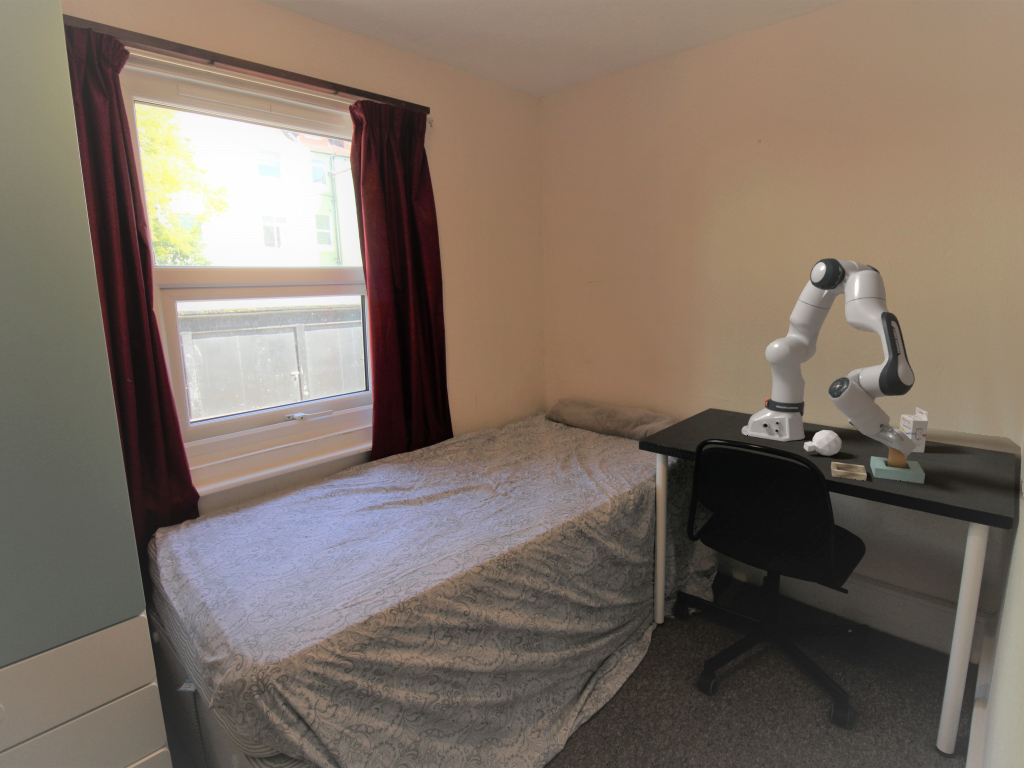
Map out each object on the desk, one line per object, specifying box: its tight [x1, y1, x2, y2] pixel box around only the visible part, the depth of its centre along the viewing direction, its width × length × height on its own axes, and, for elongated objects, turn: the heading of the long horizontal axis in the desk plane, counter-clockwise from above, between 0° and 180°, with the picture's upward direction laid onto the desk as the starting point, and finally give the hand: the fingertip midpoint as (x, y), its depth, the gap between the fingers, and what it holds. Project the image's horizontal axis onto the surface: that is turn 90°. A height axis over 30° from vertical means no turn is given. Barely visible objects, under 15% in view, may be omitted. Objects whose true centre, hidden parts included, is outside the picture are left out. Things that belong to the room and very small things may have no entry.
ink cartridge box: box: [898, 406, 929, 454], centre depth 184 cm, size 9×5×15 cm, turn 168°
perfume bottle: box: [803, 429, 843, 457], centre depth 181 cm, size 9×9×12 cm
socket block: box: [869, 455, 926, 484], centre depth 162 cm, size 12×12×3 cm
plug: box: [887, 447, 908, 469], centre depth 161 cm, size 5×5×10 cm
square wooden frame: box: [830, 461, 867, 482], centre depth 163 cm, size 9×9×2 cm
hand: (900, 451), depth 161 cm, fingers closed on plug, 4 cm apart
